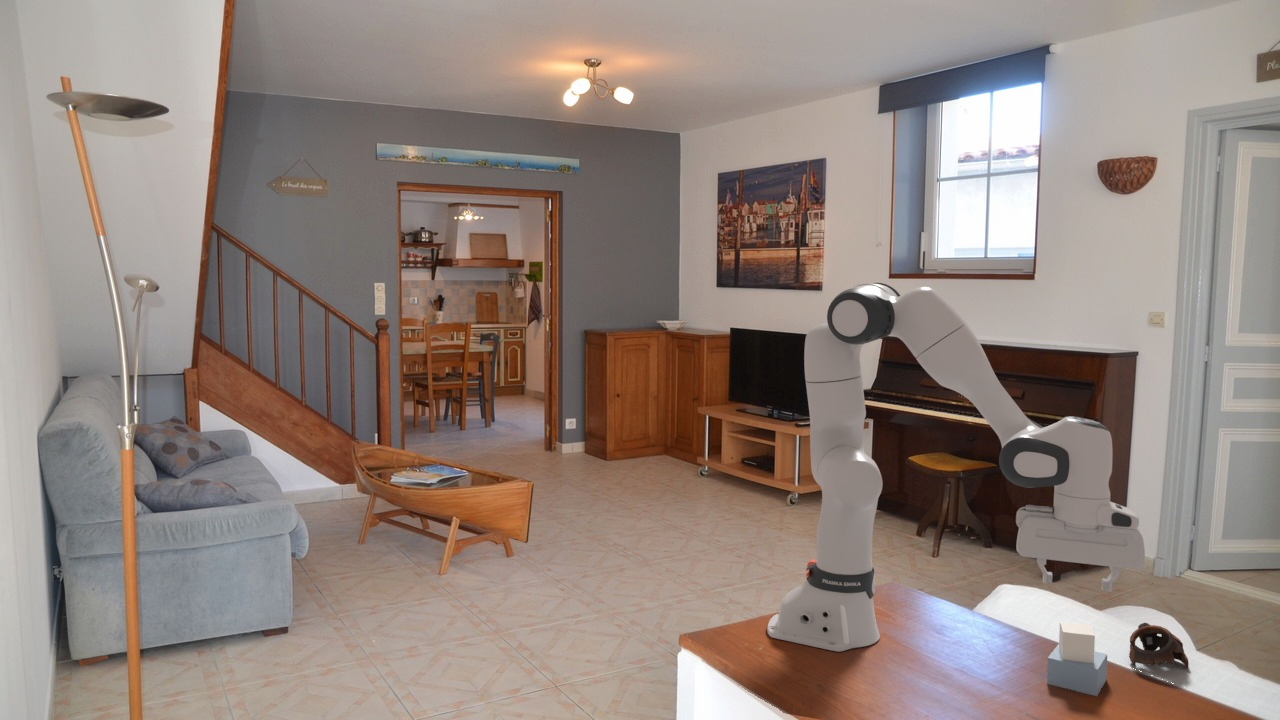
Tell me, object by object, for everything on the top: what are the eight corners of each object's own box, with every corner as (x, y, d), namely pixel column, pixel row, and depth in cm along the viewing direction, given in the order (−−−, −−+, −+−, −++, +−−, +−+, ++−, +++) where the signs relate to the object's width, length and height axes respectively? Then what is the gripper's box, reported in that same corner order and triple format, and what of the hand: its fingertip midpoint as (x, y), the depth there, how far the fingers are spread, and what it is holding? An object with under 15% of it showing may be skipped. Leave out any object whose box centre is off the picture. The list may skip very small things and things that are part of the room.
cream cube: (1062, 659, 154) (1063, 632, 153) (1059, 648, 158) (1059, 621, 158) (1093, 663, 152) (1094, 635, 152) (1089, 651, 157) (1090, 624, 156)
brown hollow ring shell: (1203, 678, 158) (1189, 644, 155) (1152, 697, 159) (1137, 664, 157) (1168, 636, 169) (1154, 604, 167) (1120, 654, 171) (1106, 623, 168)
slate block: (1047, 684, 155) (1047, 657, 154) (1058, 669, 161) (1059, 643, 161) (1096, 697, 150) (1097, 669, 150) (1106, 681, 156) (1107, 654, 156)
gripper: (1017, 507, 154) (1013, 583, 155) (1149, 520, 147) (1144, 600, 148) (1016, 499, 160) (1012, 573, 161) (1142, 511, 152) (1138, 588, 154)
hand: (1076, 586), depth 154 cm, fingers open, 8 cm apart
